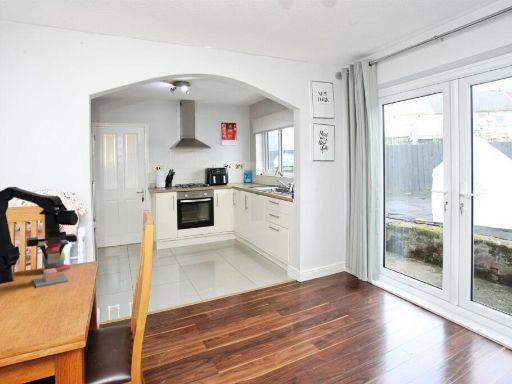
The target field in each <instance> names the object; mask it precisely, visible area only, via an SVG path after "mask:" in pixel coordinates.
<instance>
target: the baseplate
mask: <svg viewBox="0 0 512 384" xmlns="http://www.w3.org/2000/svg"><path fill="white" fill-rule="evenodd" d="M57 278H58V280H54V281H49V282H45V280H44V276H38V277H34V278H32V280H33V283H34V285H35V288H37V289H38V288H42V287H48V286H53V285H58V284H62V283H63V284H64V283H69V279H68V277H67V276H66V275H65V273H64V272H60V273H57Z"/></svg>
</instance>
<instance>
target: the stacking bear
mask: <svg viewBox="0 0 512 384" xmlns="http://www.w3.org/2000/svg"><path fill="white" fill-rule="evenodd" d="M45 246H47V247H45V249H46V252H49V251H58V249H59V244H52V245H50V244H48V242H47V243H45ZM65 257H66V255H65V250H64V249H63V250H62V253H61V256H60V262H58V263H51V264H48V263H47V262H46V261H45V257H44V255H43V254H42V264H43V267H44V268H43V270H46V269H52V268H55V269H56V270H57V273H62V272H65V271H66V270H69V269H70V268H71V267H70V265H69V264H67V263H66V264H64V262H65Z"/></svg>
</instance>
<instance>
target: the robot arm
mask: <svg viewBox="0 0 512 384" xmlns="http://www.w3.org/2000/svg"><path fill="white" fill-rule="evenodd" d="M14 198H15V199H19V200H22V201H26V202H29V203H32V204H35V205H37V206H38V207H39V208H41V209H42V210H41V211H40V212H39V213H38V214H39V215H43V216H44V217H43V218H44V221H43V222H44V224H43V225H44V238H38V236H37V237H28V238H26V239H25V245H26V248H29V247H36V248H40V250H41V252H42V256H43V255H44V257H45V260H47V256H46V243H47V242H48V244H50V245H52V244H59V249H58V252H59V253H60V256H61V253H62V250H63V251H64V248H65V247H66V246H67V245H69V243H76V242H78V237H77V235H76V234H74V233H67V231H61V230H60V228H61V227H60V226H76V225H77V224H78V221H79V216H78V214H77V213H76V210H75V209H71V210H69V209H68V208H67V207H66V205H65V204H64V203H63V202H62V198H61V197H60V196H58V195H48V194H47V195H44V194H41V193H36V192H33V191H29V190H27V189H22V188H19V187H16V186H8V187H5V188H4V189H1V190H0V284H3V283H9V282H13V281H15V278H14V276H13V267H12V266H15V265H17V262H18V260H19V259H20V255H21V252H20V247H19V246H15V245H14V244H13V242H12V238H11V232H10V227H9V223H8V217H7V212H8V211H7V210H8V208H9V202H10V201H12V200H13V199H14Z"/></svg>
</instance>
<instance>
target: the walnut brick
mask: <svg viewBox="0 0 512 384" xmlns="http://www.w3.org/2000/svg"><path fill="white" fill-rule="evenodd" d="M46 256H47V260H45V261H46V262H47V263H48V264H51V263H58V262H60V253H59V252H58V251H49V252H46Z"/></svg>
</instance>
